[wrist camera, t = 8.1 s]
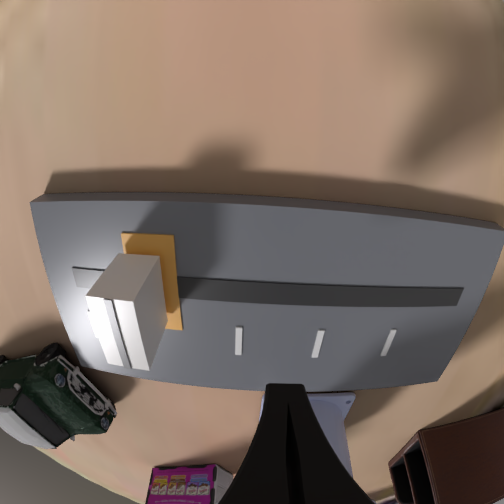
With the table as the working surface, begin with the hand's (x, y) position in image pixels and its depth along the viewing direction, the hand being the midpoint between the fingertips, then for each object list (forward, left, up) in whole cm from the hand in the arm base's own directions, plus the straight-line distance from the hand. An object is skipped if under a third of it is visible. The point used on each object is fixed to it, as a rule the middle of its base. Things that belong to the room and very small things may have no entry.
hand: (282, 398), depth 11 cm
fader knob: (0, +7, -6) cm, 10 cm away
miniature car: (-15, +23, -9) cm, 29 cm away
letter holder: (-26, -29, -9) cm, 40 cm away
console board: (-2, 0, -9) cm, 9 cm away
